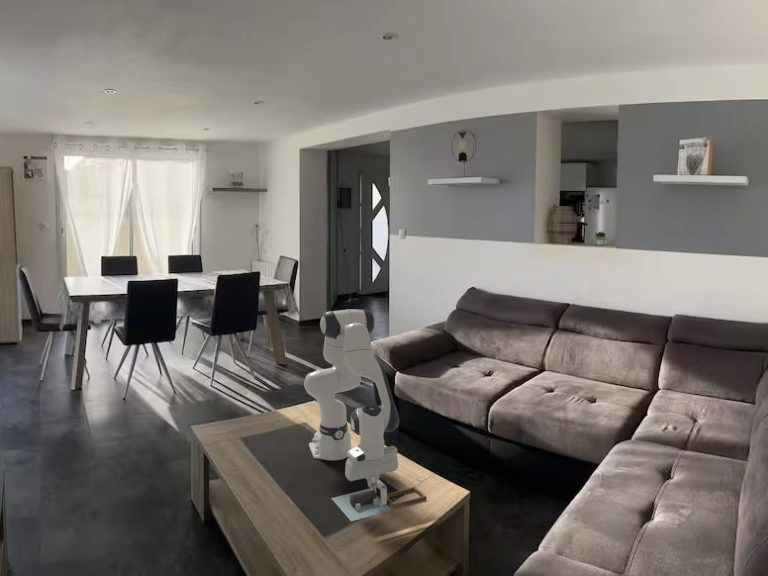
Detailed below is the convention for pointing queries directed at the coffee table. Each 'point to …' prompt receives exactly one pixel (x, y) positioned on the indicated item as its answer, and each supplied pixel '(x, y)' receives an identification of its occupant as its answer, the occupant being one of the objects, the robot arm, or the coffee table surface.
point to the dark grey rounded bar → (363, 497)
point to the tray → (421, 498)
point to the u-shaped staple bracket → (383, 490)
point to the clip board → (360, 507)
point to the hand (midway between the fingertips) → (372, 486)
